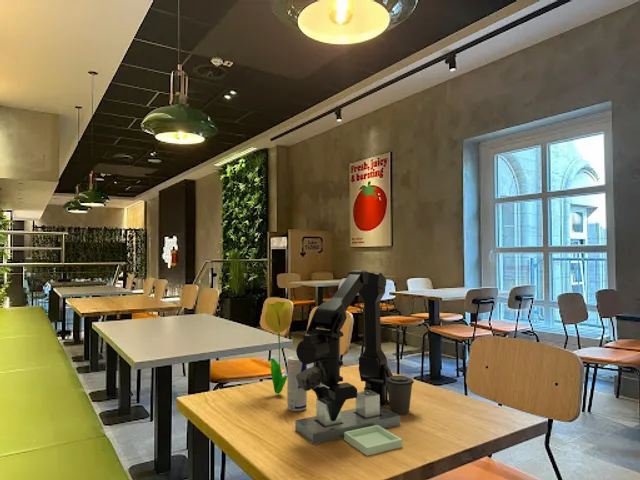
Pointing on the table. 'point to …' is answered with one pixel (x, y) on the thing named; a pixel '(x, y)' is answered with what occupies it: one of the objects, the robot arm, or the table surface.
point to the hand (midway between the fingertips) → (328, 417)
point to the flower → (278, 322)
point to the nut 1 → (325, 414)
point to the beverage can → (295, 385)
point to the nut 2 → (368, 404)
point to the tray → (372, 440)
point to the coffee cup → (399, 393)
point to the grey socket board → (343, 425)
